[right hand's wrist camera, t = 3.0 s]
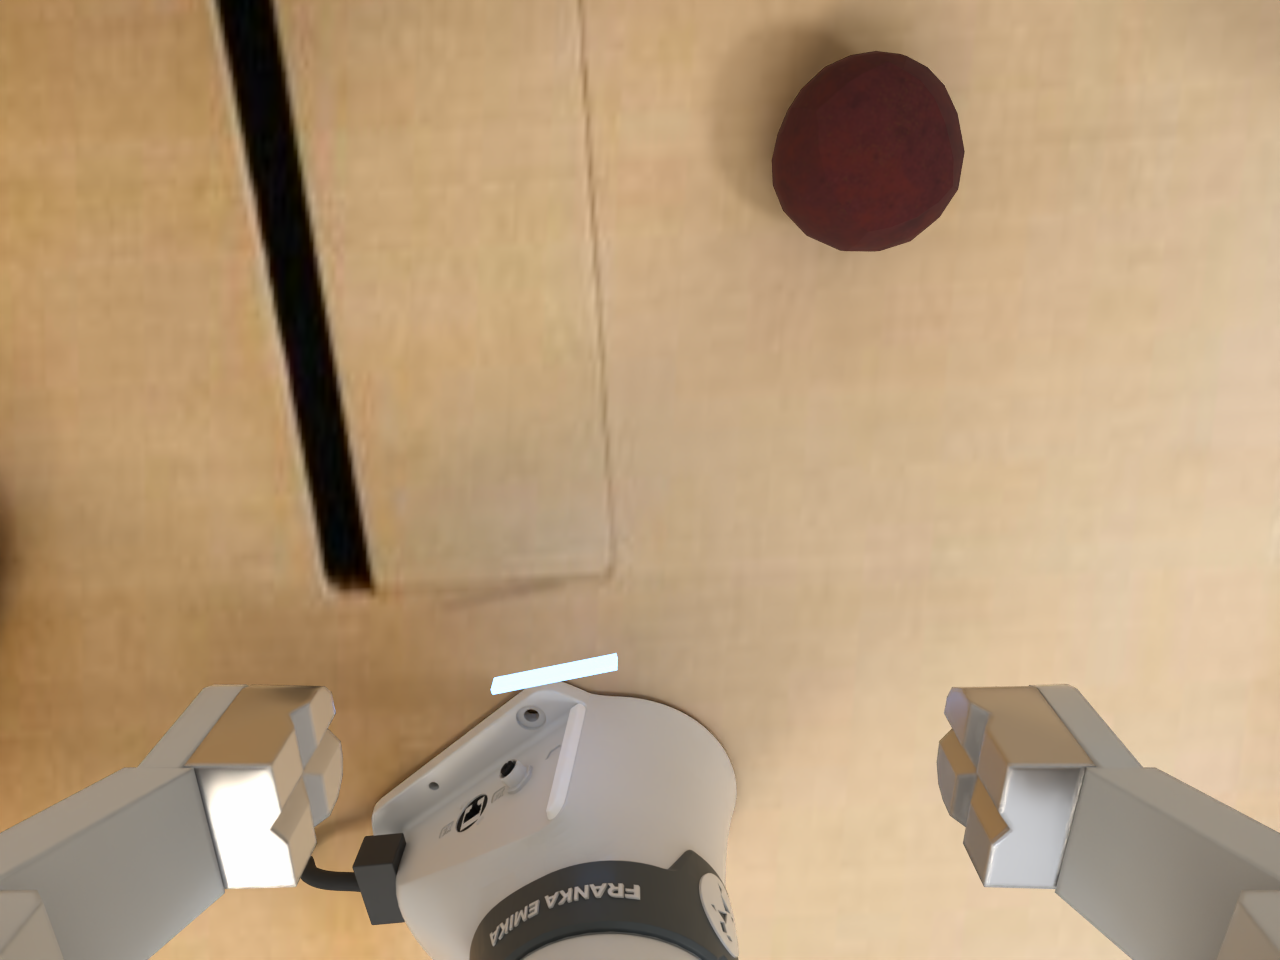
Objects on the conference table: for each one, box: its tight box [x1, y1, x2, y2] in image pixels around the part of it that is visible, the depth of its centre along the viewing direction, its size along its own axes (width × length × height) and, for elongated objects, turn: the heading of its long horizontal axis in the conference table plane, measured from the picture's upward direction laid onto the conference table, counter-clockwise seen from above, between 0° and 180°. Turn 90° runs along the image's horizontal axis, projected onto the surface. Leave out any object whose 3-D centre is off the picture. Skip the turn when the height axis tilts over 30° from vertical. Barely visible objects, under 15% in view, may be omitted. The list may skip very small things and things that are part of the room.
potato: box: [772, 51, 964, 251], centre depth 33 cm, size 7×8×7 cm
